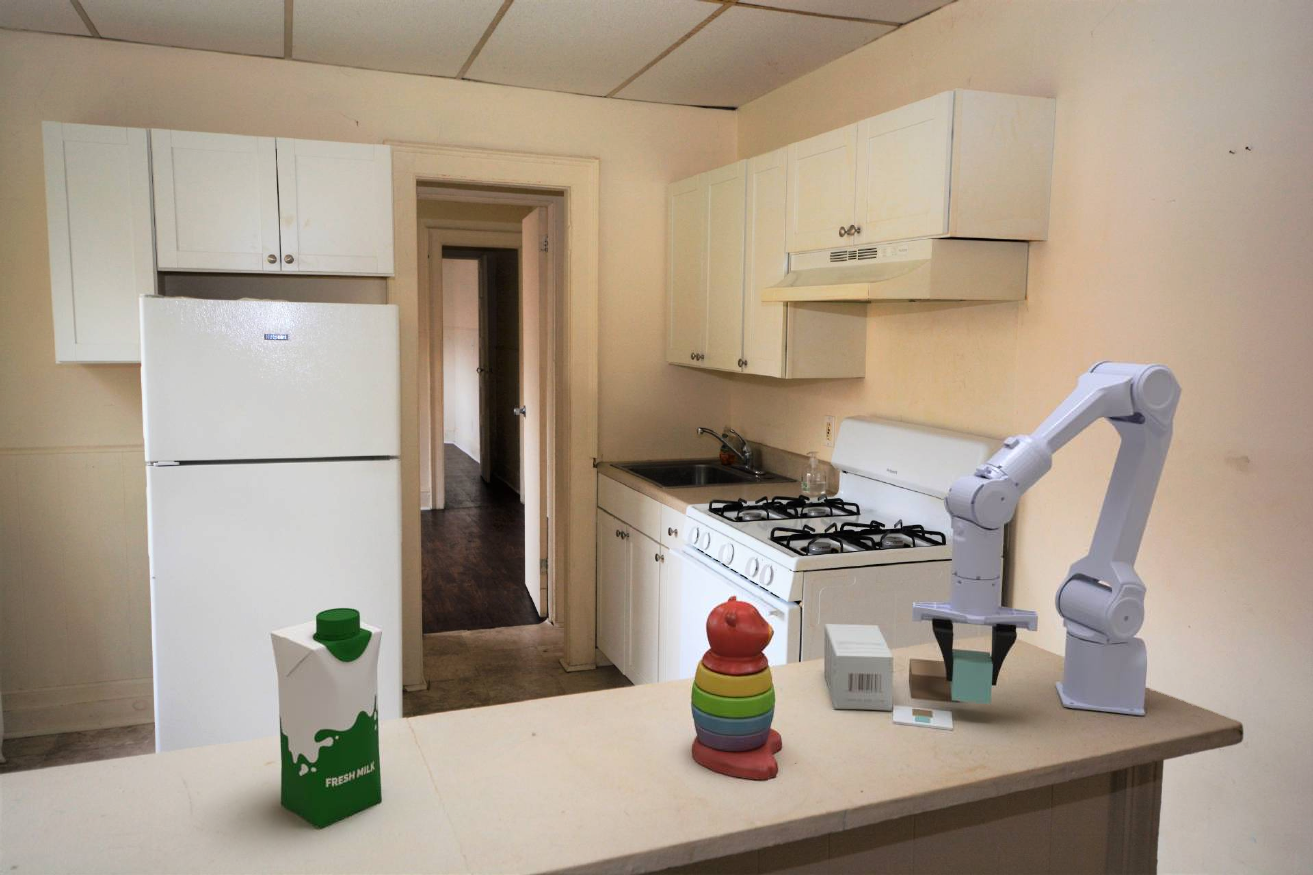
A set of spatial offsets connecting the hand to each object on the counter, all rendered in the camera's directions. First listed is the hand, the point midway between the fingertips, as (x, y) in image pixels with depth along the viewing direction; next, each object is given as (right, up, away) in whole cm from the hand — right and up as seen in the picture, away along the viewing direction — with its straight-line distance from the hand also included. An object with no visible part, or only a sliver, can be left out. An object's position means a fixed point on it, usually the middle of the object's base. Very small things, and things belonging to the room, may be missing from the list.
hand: (970, 680), depth 117 cm
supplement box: (-13, -1, +1) cm, 13 cm away
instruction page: (-6, -5, 0) cm, 8 cm away
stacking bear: (-30, -6, -11) cm, 33 cm away
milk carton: (-72, -7, -23) cm, 75 cm away
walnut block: (-2, -4, +8) cm, 9 cm away
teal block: (0, -2, 0) cm, 2 cm away
